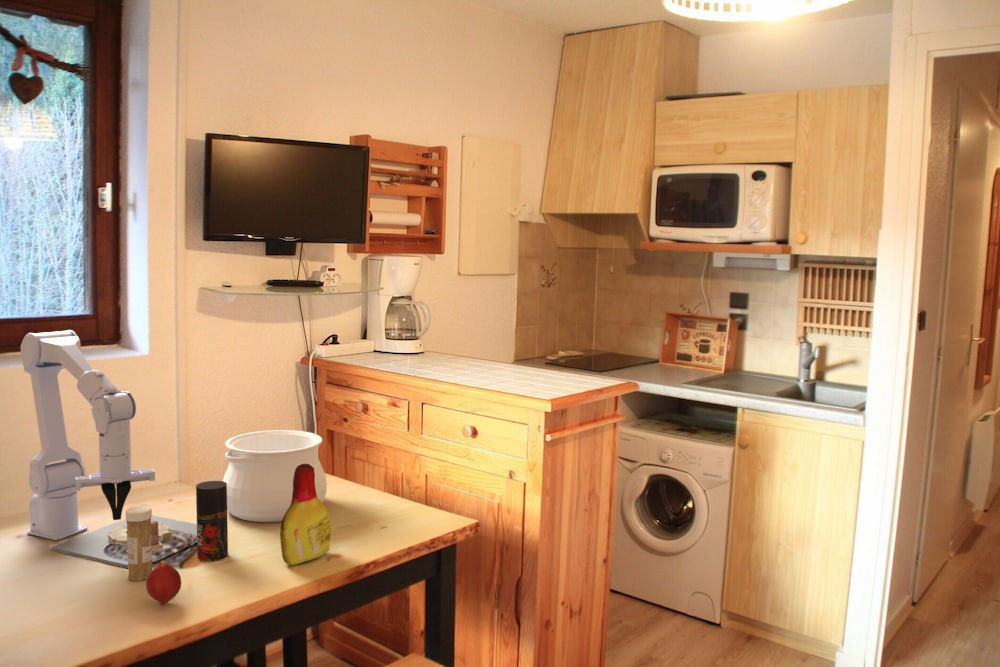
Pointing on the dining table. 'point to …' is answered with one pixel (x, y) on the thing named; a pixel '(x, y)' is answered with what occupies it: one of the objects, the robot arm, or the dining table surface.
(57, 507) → the robot arm
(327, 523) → the bottle
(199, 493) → the deodorant
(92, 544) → the post board
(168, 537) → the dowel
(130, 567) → the sprinkles bottle
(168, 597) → the onion
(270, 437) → the pot
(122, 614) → the dining table surface
